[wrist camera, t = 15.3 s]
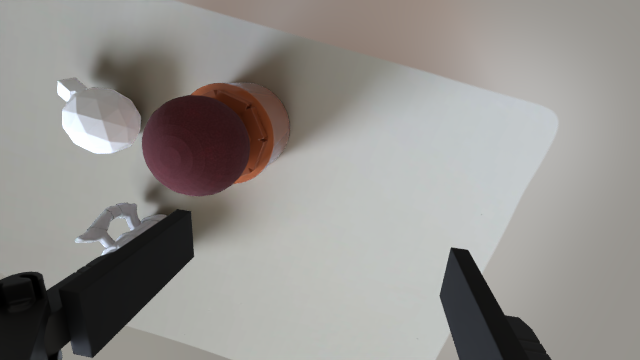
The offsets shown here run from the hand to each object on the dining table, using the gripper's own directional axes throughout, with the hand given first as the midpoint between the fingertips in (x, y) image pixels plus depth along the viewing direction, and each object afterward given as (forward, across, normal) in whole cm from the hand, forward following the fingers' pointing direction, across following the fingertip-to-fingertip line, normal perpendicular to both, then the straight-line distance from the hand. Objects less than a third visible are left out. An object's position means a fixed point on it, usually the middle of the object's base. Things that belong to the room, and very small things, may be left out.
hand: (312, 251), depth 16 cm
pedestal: (+29, -15, +1) cm, 32 cm away
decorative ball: (+20, -14, +1) cm, 25 cm away
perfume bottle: (+29, -34, +2) cm, 45 cm away
